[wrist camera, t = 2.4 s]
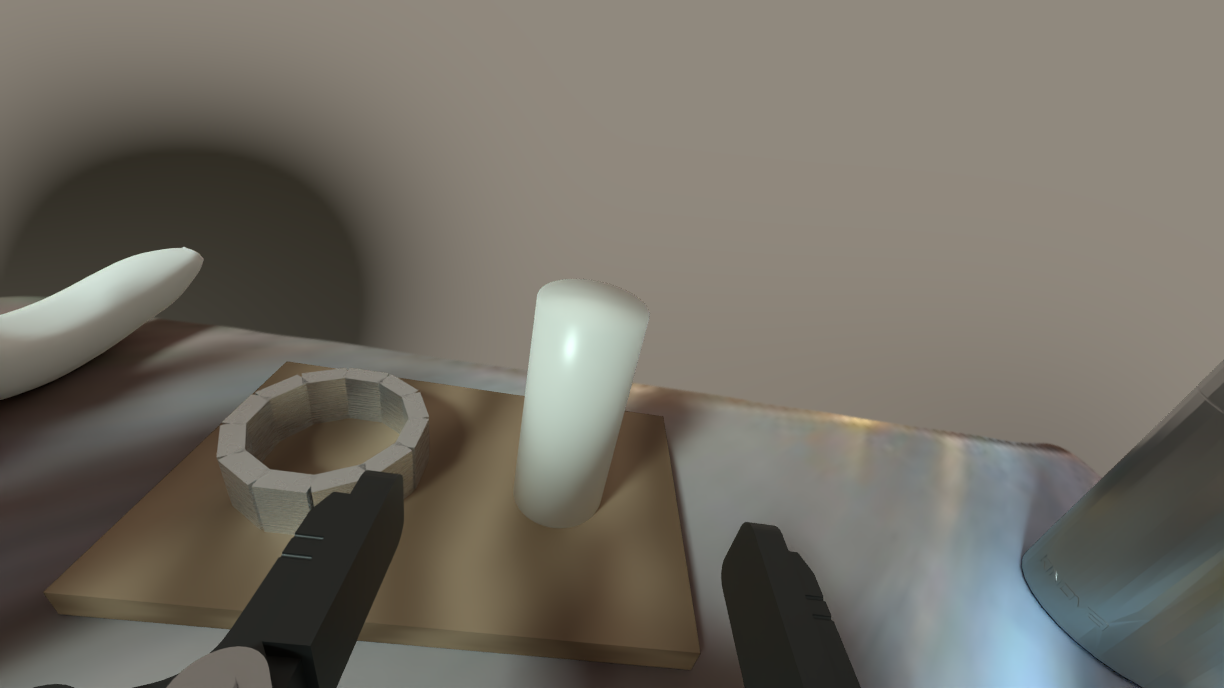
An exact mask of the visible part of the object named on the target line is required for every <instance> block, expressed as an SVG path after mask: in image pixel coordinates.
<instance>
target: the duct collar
mask: <svg viewBox="0 0 1224 688" xmlns="http://www.w3.org/2000/svg"><path fill="white" fill-rule="evenodd" d="M347 418H353V419H360V420H368V421H375V422H382V423H383V424H385V425H387V426H388V427H390V428H391V429H393V430H394V431H396V432H397V433H399V434H400V435H399V437H398V439H397V441H396V442H395V443H394V444H392V445H391V446H389V447H388V448H386V449H385V450H383V451H381V452H380V453H378V454H377V455H375V456H373V457H372V458H370V459H369V460H367V461H366V462H364V463H362V464H360V465H355V466H351V467H347V468H342V469H338V470H333V471H329V472H324V473H320V474H316V475H312V474H304V473H296V472H287V471H279V470H271V469H269V468H268V467H266V466H265V465H264V464H263V463H262V462H263V461H264V459H265V458H266V457H267V456H268V455H269V453H270V452H271V451H272V450H273V449H274V448H275V446H276V445H277V444H278V443H279V442H280V441H282V440H284V439H286V438H288V437H290V436H292V435H294V434H296V433H298V432H300V431H302V430H303V429H305V428H307V427H309V426H311V425H314V424H319V423H325V422H330V421H336V420H342V419H347ZM217 460H218V463H219V466H220V470H221V473H222V476H223V479H224V482H225V485H226V488H227V491H228V494H229V497H230V500H231V503H232V506H234V507H235V508H236V509H237V510H238V511H239V512H240V513H242V514H243V515H244V516H245V517H246V518H247V519H248V520H250V521H251V522H252V523H253V524H254V525H255V526H256V527H258V528H259V529H260V530H261V529H263V528H264V532H273V533H282V534H291V535H295V532H296V531H297V529H298V528H299V526H300V525H301V523H302V522H303V520H304V519H305V517H306V516H307V514H308V513H309V511H310V510H311V509H312V508H313V507H315V506H316V505H317V504H318V503H320V502H321V501H322V500H323V499H325V498H326V497H327V496H329V495H330V494H331V493H332V492H341V493H349V494H350V493H351V491H352V490H353V488H354V486H355V485H356V483H357V481H358V480H359V478H360V476H361V475H362V474H363V472H365V471H366V470H372V471H379V472H387V473H394V474H401V475H402V476H403V490H404V499H405V498H406V497H407V496H409V495H410V494H411V493H413V492H414V491H413V489H416V488H417V485H418V483H419V481H420V479H421V476H422V474H423V472H424V469H425V467H426V465H427V463H428V460H429V415H428V412H427V409H426V407H425V404H424V401H423V399H422V396H421V393H420V392H418V390H417V389H415V388H414V387H412V386H410V385H409V384H407V383H405V382H404V381H402V380H400V379H399V378H397V377H395V376H394V375H390V376H389V373H383V372H376V371H369V370H362V369H356V368H349V370H348V371H347V369H346V368H340V369H332V370H324V371H317V372H309V373H302V377H300V376H299V375H295V376H293V377H290V378H288V379H286V380H283V381H281V382H278V383H276V384H274V385H271V386H269V387H266V388H264V389H261V390H259V391H257V392H255V395H252V394H251V395H250V396H249V397H248V398H247V399H246V400H245V401H244V402H243V403H242V404H241V405H240V406H239V407H238V408H236V409H235V410H234V411H233V412H232V413H231V414H230V415H229V416H228V417H227V418H226V419H225V420H224V421H223V422H222V425H220V431H219V440H218V449H217Z"/></svg>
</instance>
